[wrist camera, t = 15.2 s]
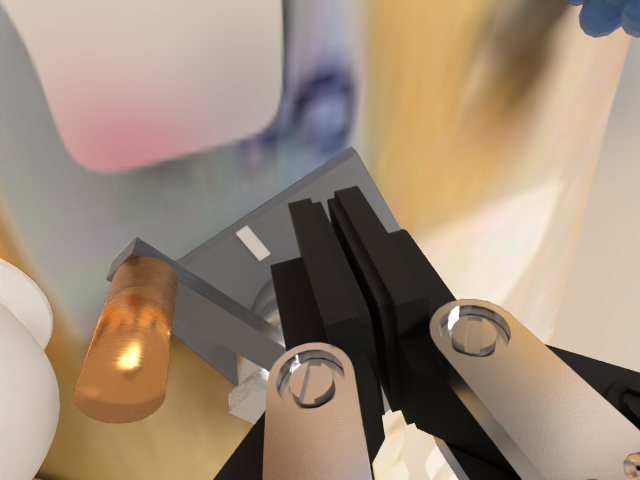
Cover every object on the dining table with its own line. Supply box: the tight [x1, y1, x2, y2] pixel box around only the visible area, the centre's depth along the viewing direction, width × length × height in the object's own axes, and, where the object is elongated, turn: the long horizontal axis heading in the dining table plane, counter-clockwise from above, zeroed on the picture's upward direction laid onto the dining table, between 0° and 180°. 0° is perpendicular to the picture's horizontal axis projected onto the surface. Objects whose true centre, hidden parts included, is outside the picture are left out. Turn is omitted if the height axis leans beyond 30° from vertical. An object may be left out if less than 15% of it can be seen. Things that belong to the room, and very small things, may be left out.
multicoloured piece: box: [74, 237, 390, 425], centre depth 25 cm, size 23×13×12 cm, turn 44°
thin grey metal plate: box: [172, 146, 401, 387], centre depth 35 cm, size 20×20×6 cm
